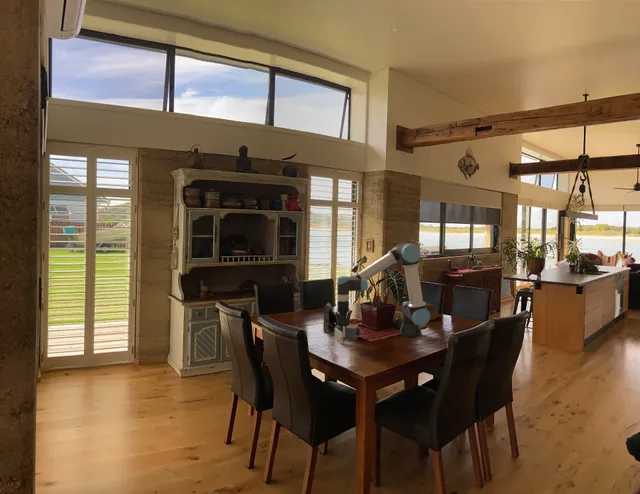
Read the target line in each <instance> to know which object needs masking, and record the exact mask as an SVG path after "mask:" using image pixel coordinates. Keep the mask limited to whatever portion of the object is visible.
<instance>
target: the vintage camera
mask: <svg viewBox="0 0 640 494" xmlns="http://www.w3.org/2000/svg"><path fill="white" fill-rule="evenodd" d="M334 312H335V311H332V303H331V302H327V304H325V305H324V306H323V324H322V325H323V326H322V327H323V328H322V331H323V333H326V334H327V333H328V332H329V331H330V330H335V326H336V325H337V321H336V317H335V314H334ZM338 315H339V313H338ZM339 319H340V316H339Z"/></svg>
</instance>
